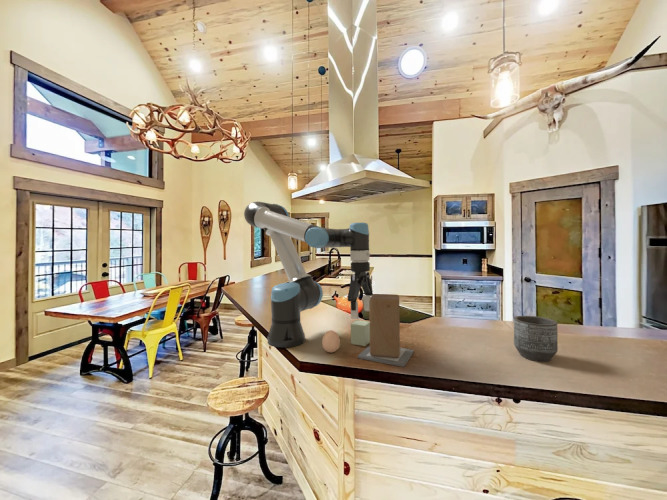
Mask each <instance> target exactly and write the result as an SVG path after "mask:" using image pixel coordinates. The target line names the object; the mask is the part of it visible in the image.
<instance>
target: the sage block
mask: <svg viewBox="0 0 667 500" xmlns="http://www.w3.org/2000/svg"><path fill="white" fill-rule="evenodd" d="M350 344H351V345H355V346H356V345H357V346H361V347H367V346H368V345H369V344H370V321H366V320H365V321H364V320H359V319H356V320H355V321H353V322H352V323H350Z"/></svg>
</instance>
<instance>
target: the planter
mask: <svg viewBox="0 0 667 500" xmlns="http://www.w3.org/2000/svg"><path fill="white" fill-rule="evenodd" d="M558 331H559V330H558V321H556V320H554V319H552V318H548V317H547V318H546V317H544V316H543V317H542V316H537V315H536V316H535V315H517V316H513V345H514V347H515V349H516V350H517V352H518V353H519V355H520V356H521V357H522V358H525V359H526V360H529V361H534V362H543V363H544V362H546V363H547V362H550V361H551V360H552V359H553V358H554V357H555V355H556V354H557V353H558V350H559V349H558V348H559V347H558Z"/></svg>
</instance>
